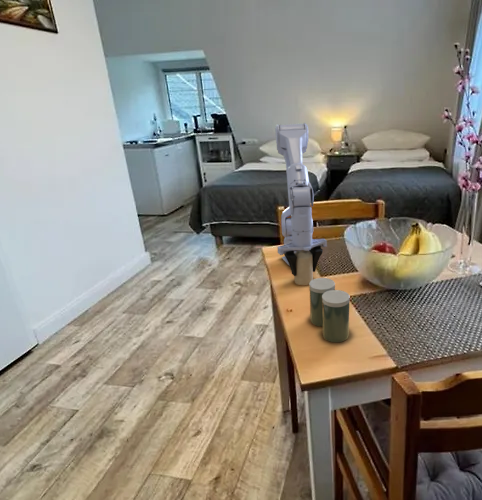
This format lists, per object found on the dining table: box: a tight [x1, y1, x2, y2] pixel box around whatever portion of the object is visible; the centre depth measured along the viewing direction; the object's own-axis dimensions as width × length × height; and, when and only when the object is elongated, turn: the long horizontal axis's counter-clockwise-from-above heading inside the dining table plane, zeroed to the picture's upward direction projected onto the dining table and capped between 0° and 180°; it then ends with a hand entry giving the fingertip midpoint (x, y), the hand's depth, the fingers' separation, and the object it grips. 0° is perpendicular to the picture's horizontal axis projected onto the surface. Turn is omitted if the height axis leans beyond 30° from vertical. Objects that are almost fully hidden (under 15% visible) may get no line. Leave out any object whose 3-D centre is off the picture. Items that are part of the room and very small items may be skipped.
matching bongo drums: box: [308, 277, 351, 343], centre depth 90 cm, size 13×6×10 cm, turn 23°
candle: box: [293, 250, 314, 286], centre depth 113 cm, size 6×6×10 cm
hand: (303, 272), depth 113 cm, fingers closed on candle, 5 cm apart
